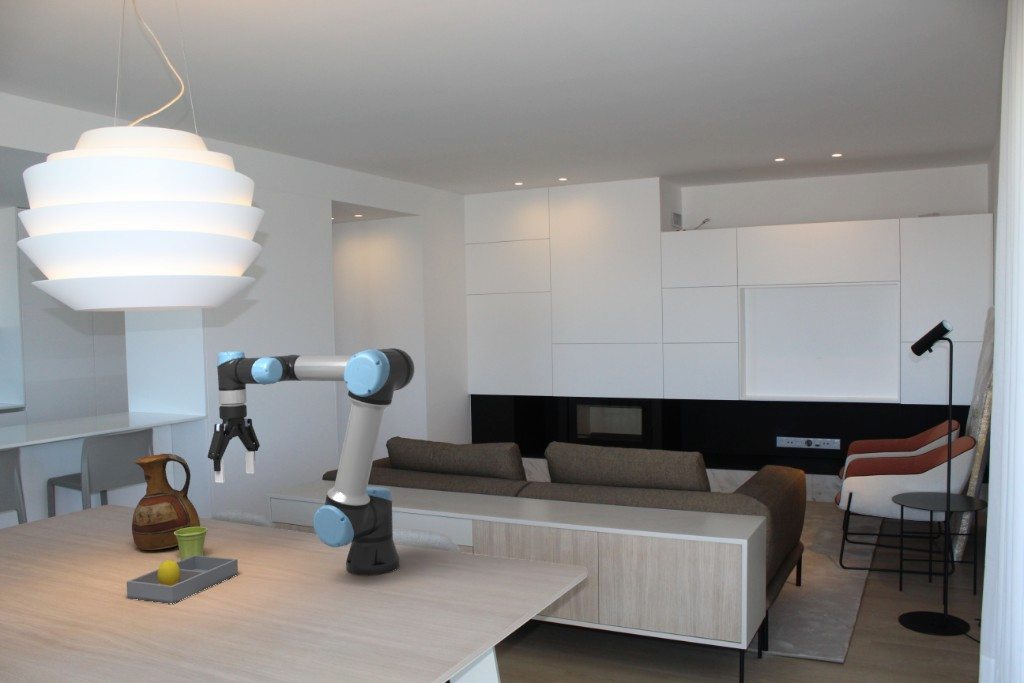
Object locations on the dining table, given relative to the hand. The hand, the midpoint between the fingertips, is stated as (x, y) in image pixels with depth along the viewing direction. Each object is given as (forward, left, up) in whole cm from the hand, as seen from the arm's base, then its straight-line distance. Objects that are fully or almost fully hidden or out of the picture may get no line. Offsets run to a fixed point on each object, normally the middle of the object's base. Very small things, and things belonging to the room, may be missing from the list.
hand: (235, 477), depth 236 cm
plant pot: (+20, -3, -27) cm, 33 cm away
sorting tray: (+3, +18, -26) cm, 32 cm away
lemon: (+3, +24, -26) cm, 35 cm away
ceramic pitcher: (+38, -12, -27) cm, 48 cm away
